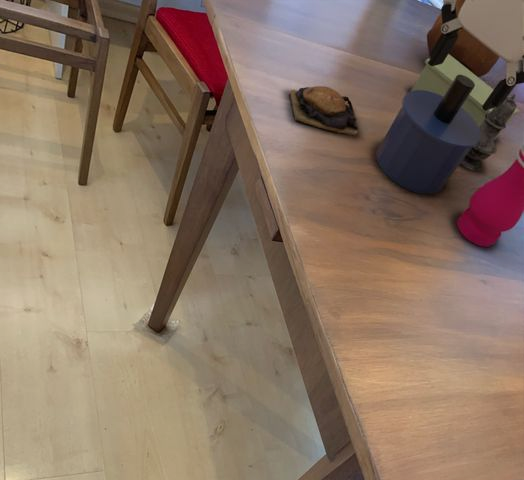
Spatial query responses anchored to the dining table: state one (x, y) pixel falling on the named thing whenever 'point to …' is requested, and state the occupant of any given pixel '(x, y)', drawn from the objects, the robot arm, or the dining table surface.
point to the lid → (444, 114)
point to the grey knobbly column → (489, 134)
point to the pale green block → (442, 78)
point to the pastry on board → (324, 109)
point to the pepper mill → (495, 206)
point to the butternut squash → (465, 47)
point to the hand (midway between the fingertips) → (460, 85)
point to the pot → (416, 157)
